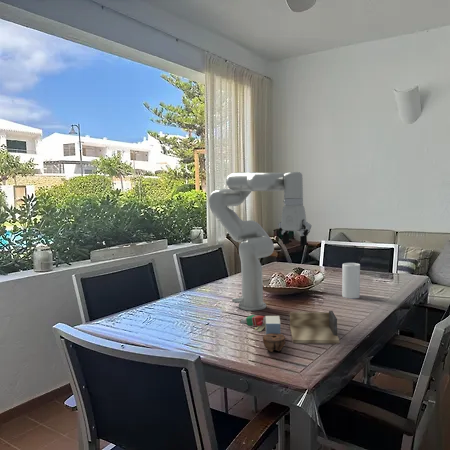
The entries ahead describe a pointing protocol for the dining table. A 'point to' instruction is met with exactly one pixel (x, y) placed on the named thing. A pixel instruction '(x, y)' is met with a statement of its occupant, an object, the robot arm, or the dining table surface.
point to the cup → (351, 280)
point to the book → (273, 325)
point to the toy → (255, 322)
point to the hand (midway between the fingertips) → (294, 244)
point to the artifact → (274, 341)
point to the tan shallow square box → (314, 327)
